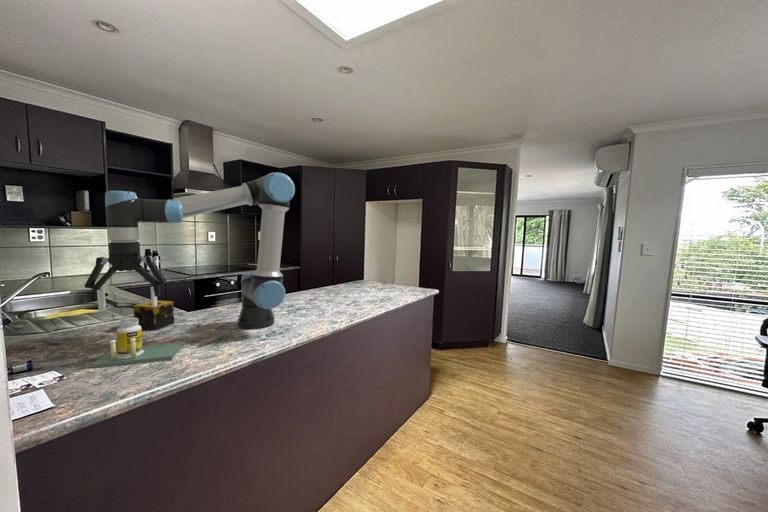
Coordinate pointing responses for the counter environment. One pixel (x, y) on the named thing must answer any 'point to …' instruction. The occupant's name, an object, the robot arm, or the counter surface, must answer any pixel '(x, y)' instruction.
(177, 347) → the header board
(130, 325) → the pill bottle
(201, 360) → the counter surface
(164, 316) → the yellow-topped dark cube
